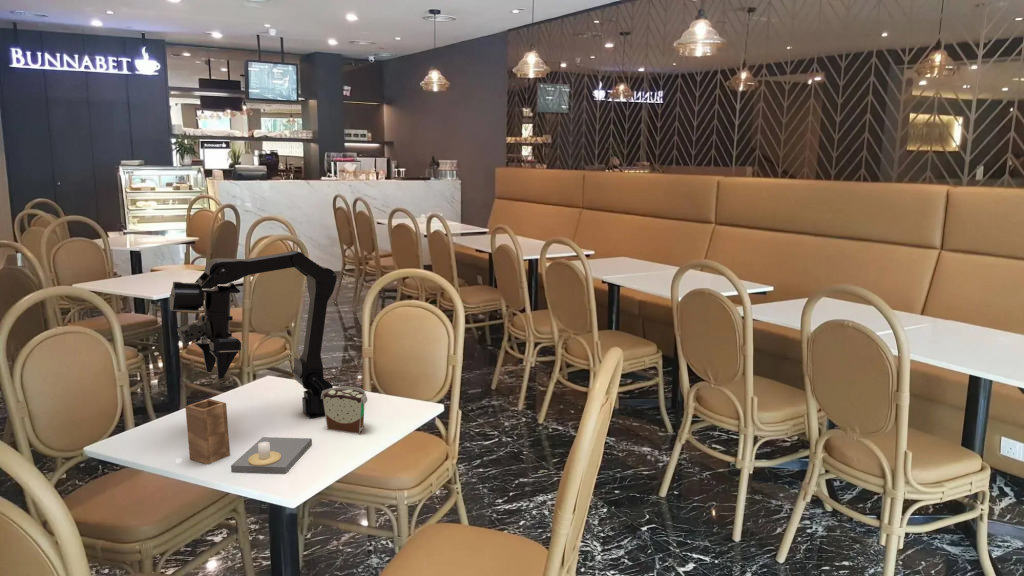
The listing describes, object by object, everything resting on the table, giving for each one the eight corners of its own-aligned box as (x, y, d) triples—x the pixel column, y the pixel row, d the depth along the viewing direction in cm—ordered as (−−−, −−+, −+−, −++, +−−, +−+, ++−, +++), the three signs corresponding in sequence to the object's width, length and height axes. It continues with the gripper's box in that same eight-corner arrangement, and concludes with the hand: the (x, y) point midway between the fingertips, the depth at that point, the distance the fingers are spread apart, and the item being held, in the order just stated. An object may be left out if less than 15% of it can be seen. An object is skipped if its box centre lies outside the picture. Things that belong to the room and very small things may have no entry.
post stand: (263, 443, 165) (261, 422, 164) (312, 444, 164) (310, 423, 163) (231, 472, 149) (229, 449, 148) (285, 473, 149) (284, 450, 148)
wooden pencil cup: (213, 449, 161) (208, 398, 159) (230, 455, 158) (226, 403, 156) (189, 459, 156) (185, 406, 154) (207, 464, 153) (202, 410, 151)
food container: (377, 426, 176) (376, 388, 174) (365, 435, 170) (363, 396, 168) (336, 420, 180) (334, 383, 178) (322, 429, 174) (320, 391, 172)
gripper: (171, 307, 169) (169, 370, 170) (192, 315, 154) (189, 384, 155) (219, 307, 176) (216, 368, 177) (243, 315, 161) (240, 381, 162)
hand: (214, 375), depth 167 cm, fingers open, 9 cm apart
